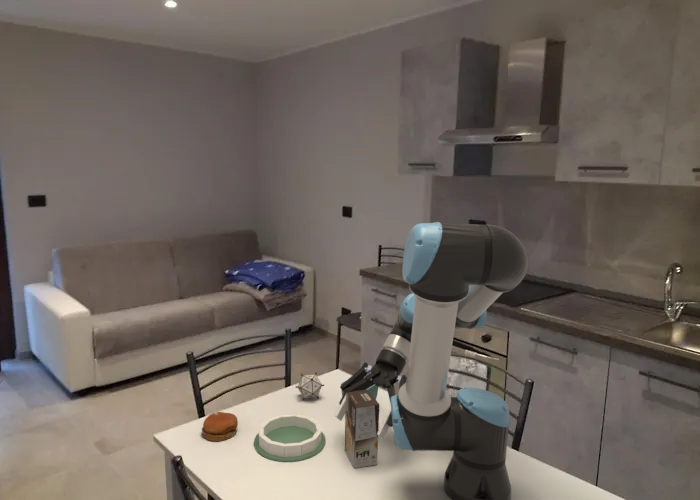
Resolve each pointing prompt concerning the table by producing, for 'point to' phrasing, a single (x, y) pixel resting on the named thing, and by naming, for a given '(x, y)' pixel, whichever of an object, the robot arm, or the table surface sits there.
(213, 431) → the burger
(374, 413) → the coffee box
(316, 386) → the game die
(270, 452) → the round green tray
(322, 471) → the table surface
